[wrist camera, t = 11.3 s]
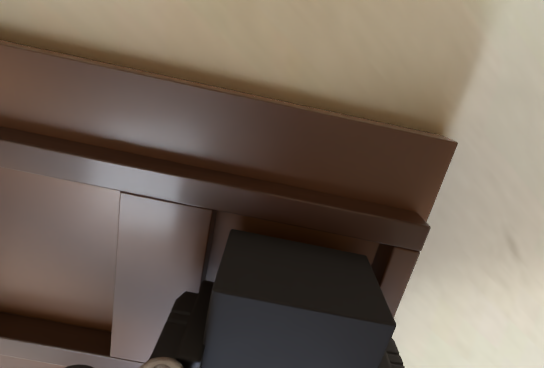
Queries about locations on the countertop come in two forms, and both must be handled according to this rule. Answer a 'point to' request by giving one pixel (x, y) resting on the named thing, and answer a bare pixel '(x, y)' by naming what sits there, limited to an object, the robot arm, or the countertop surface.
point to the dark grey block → (294, 307)
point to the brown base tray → (177, 198)
